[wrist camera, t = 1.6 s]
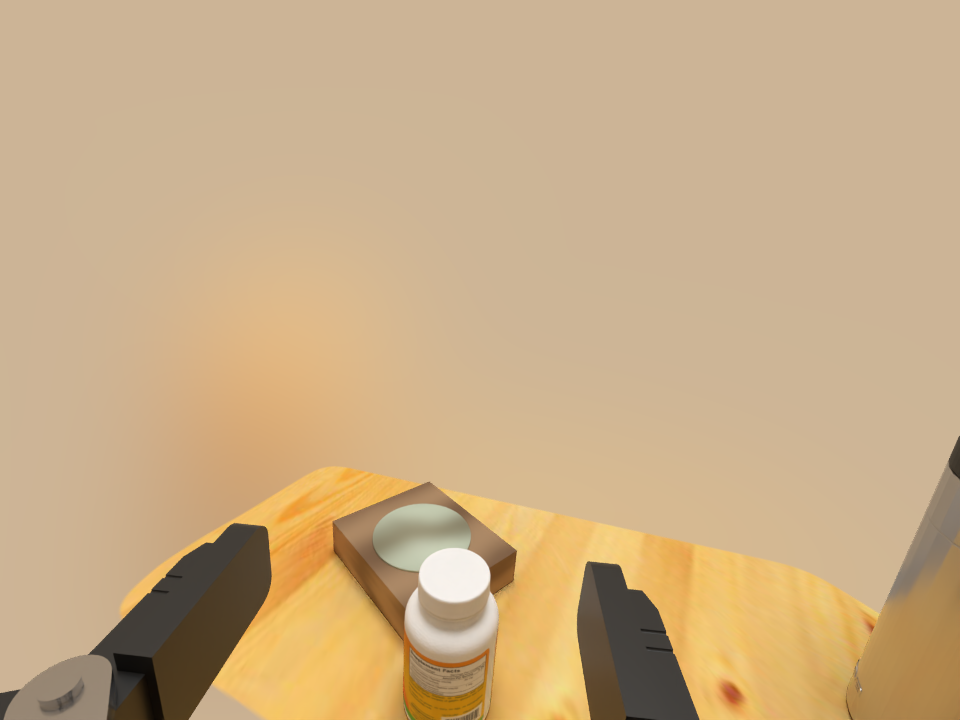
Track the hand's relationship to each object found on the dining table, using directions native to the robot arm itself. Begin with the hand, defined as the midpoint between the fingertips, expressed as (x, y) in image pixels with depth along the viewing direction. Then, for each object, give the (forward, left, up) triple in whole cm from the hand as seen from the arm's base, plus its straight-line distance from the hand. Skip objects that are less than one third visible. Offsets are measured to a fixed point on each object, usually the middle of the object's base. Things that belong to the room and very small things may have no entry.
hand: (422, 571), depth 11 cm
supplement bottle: (+8, -8, -20) cm, 23 cm away
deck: (+18, -13, -20) cm, 30 cm away
